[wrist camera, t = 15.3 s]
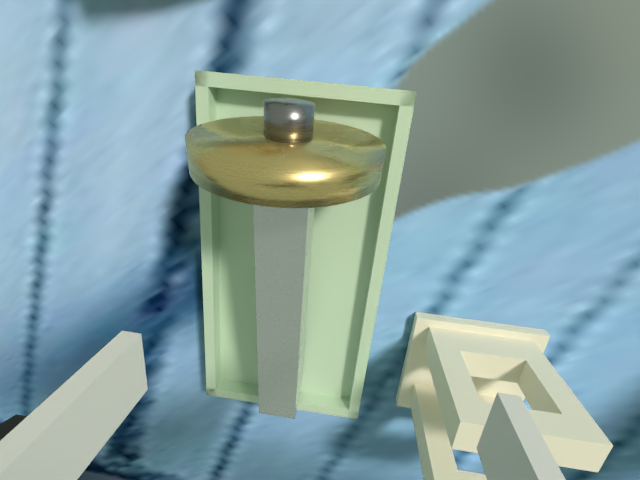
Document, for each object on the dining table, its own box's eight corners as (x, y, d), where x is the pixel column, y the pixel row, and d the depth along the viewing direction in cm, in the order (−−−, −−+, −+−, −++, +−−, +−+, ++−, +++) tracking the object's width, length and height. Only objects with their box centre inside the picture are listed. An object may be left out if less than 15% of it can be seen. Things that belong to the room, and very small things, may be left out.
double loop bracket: (415, 311, 32) (443, 410, 22) (544, 329, 32) (639, 440, 21) (395, 398, 36) (411, 517, 26) (509, 416, 36) (574, 546, 25)
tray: (411, 93, 26) (416, 91, 24) (357, 399, 37) (357, 419, 35) (208, 73, 27) (194, 70, 25) (215, 377, 38) (206, 395, 36)
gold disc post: (226, 82, 25) (131, 109, 15) (386, 97, 25) (401, 137, 14) (242, 343, 40) (198, 448, 29) (344, 358, 39) (335, 471, 29)
